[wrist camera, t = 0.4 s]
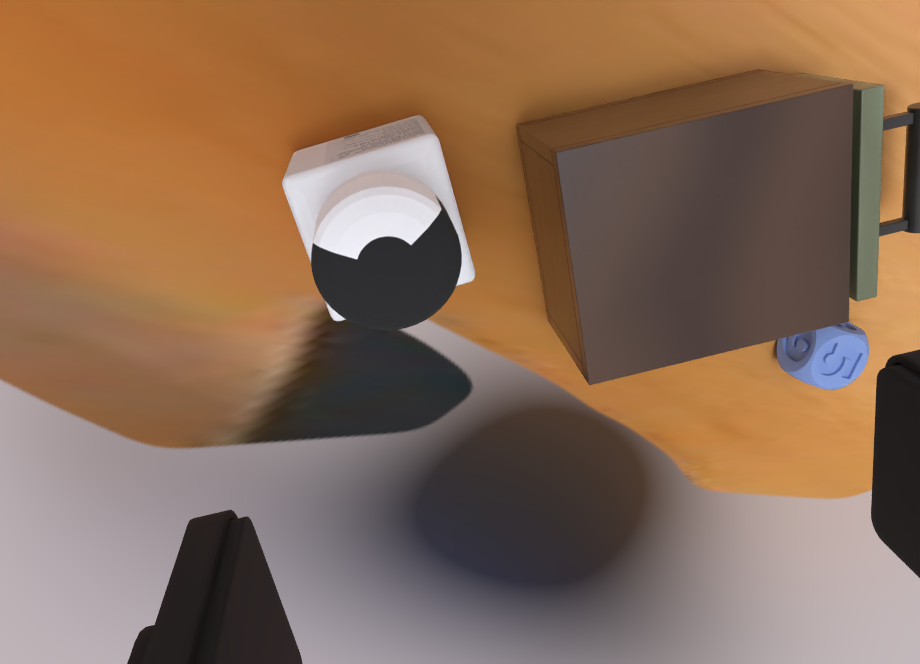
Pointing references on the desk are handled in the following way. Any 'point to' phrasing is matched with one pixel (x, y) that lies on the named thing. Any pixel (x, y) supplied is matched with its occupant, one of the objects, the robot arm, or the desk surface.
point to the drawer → (876, 181)
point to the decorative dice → (825, 355)
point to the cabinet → (692, 219)
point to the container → (380, 224)
